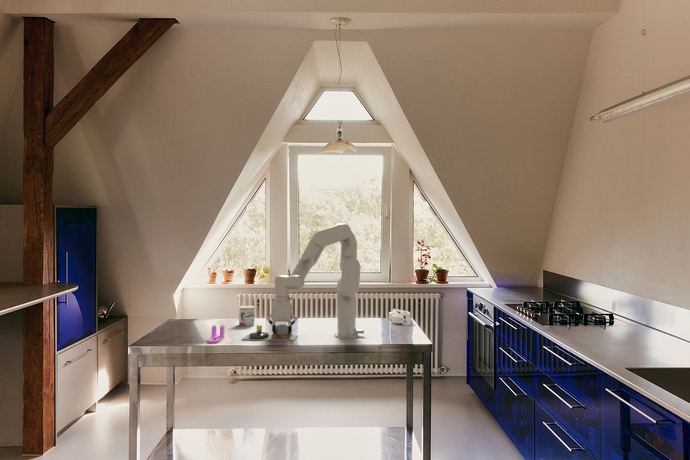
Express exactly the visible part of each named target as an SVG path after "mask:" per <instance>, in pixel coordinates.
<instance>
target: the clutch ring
mask: <svg viewBox="0 0 690 460" xmlns="http://www.w3.org/2000/svg"><path fill="white" fill-rule="evenodd" d="M280 325H284V326H283V327H280ZM288 327H289V324H275V330H274V334H276V335H287V334H288Z"/></svg>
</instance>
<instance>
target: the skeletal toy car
mask: <svg viewBox="0 0 690 460" xmlns="http://www.w3.org/2000/svg"><path fill="white" fill-rule="evenodd" d="M404 316H405V317H406V318H407V319H406V323H407V325H409V324H411V312H410V311H408V310H403V309H398V308H393V309H392V311H390V312H388V320H390V321H391V323H392V324H397V325H398V324H401V323H402V322H404V321H405V319H404ZM401 319H402V320H401Z"/></svg>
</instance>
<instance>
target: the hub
mask: <svg viewBox="0 0 690 460" xmlns="http://www.w3.org/2000/svg"><path fill="white" fill-rule="evenodd" d="M262 327H263V325H262V324H256V332H251V333H249V334H248V335H249V338H251V339H265V338H268V337H269V335H270V334H269V333H270V332H269V333H268V332H265V331H263V328H262Z"/></svg>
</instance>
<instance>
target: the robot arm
mask: <svg viewBox="0 0 690 460" xmlns="http://www.w3.org/2000/svg"><path fill="white" fill-rule="evenodd" d="M338 242H340V260H339V270H340V271H341V276H340V278H339V279H338V281H337V285H336V293H337V295H336V296H337V332H336V333H334V337H335V338H337V339H344V340H345V339H347V340H348V339H356V338H359V334H365V330H364V329H361V328H360V329H358V328H357V326H356V306H357V305H356V294H357V293H358V292H359V289H360V278H361V264H360V261H359V260H358V259H357V258H358V241H357V239H356V236H355V233H353V231H352V228H351V226H350V225H349V224H347V223H346V222H345V223H343V222H342V223H337V224H335V225H333V226H330V227H326V228H325V229H319V230H316V231H315V232H314V233H313V234H312V236H311V238H310V240H309V242H308V243H307V245H306V248H305V249H304V250H303V253H302V254H301V256H300V258H299V260H298V262H297V264H296V266H295V267H294V269H293V271H292V273H291V275H290V276H289V275H285V274H283V275H278V274H277V275H276V276H275V277H274V301H273V303H272V309H271V310H272V311H271V314H270V315H268V316H267V317H266V320H267V322H268V323H269V325H270V326H271V331H272V334H274V330H275V325H276V324H277V322H285V323H286V322H287V325H289V327H288V334H290V333H291V332H292V333H293V328H292V327H293V325H294V324H295V323H296V322H297V321H298V317H297V316H296V315H295V314H293V308H292V307H293V305H292V300H293V297H292V296H291V295H290V290H294V291H299V290H302V289H303V288H304V286H305V279H306V277H308V274H309V272H310V270H311V269H312V268H313V267H314V266H315V265H316V264H317V263H318V261H319V259H320V257H321V255H322V253H323V251H324V249H325V248H326V246H330V245H332V244H333V245H334V244H336V243H338Z"/></svg>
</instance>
